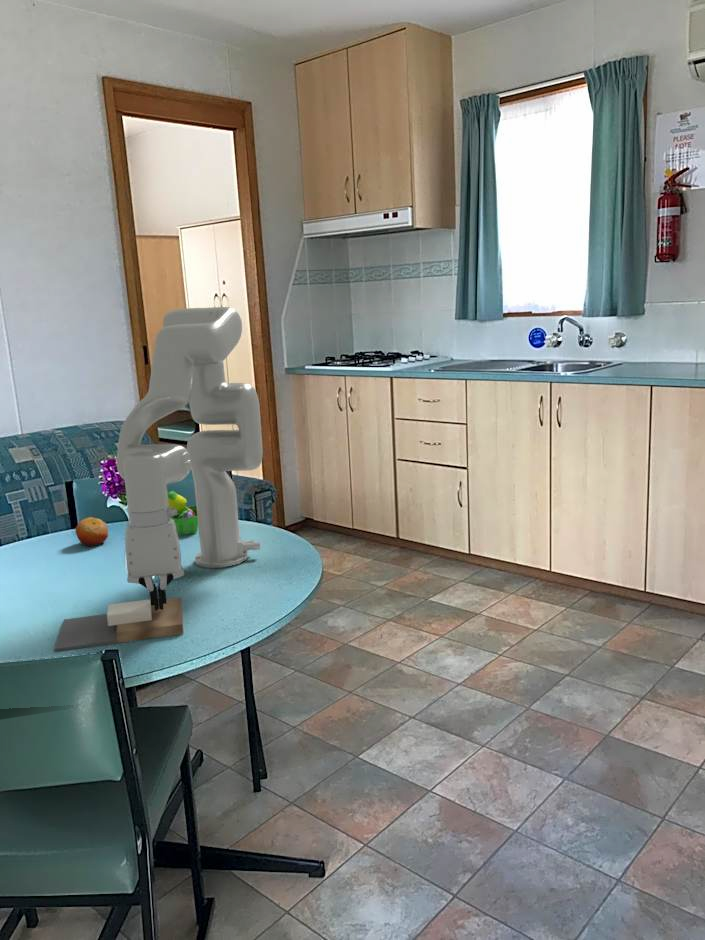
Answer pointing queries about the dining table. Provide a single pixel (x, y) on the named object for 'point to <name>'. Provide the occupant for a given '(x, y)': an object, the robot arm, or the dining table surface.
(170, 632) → the board
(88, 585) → the dining table surface
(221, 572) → the dining table surface
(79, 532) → the fruit
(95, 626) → the mat
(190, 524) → the green easter basket
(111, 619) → the block
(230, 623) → the dining table surface
